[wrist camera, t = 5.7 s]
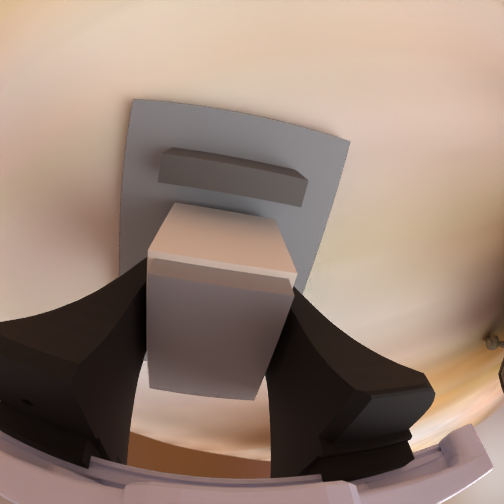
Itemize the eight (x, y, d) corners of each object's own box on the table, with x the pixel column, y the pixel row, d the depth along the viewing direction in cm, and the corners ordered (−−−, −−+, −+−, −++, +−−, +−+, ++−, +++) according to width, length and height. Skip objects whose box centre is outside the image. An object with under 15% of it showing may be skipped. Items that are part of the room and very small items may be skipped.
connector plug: (248, 316, 14) (258, 403, 9) (165, 304, 13) (144, 390, 8) (274, 219, 11) (304, 289, 7) (174, 202, 11) (140, 264, 6)
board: (268, 364, 18) (274, 401, 15) (129, 345, 16) (117, 381, 13) (341, 139, 12) (372, 147, 9) (140, 100, 10) (114, 96, 8)
